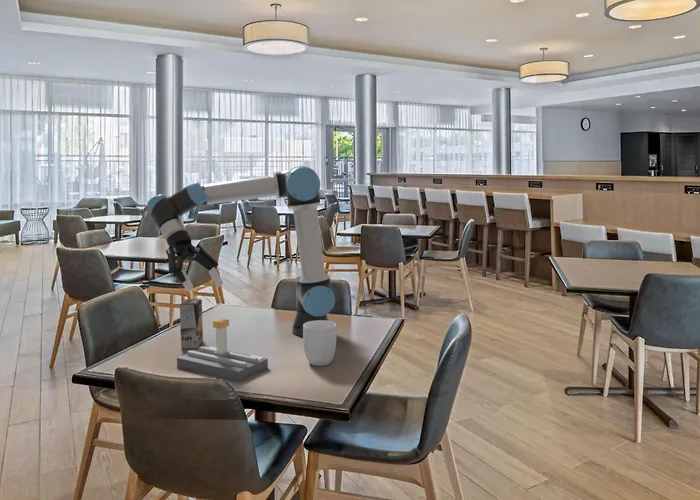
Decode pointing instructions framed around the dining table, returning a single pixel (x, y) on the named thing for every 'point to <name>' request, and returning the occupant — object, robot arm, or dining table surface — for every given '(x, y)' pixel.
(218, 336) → the lever
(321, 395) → the dining table surface
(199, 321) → the coffee box
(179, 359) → the switch panel
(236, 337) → the dining table surface
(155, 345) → the dining table surface
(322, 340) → the mug
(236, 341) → the dining table surface
